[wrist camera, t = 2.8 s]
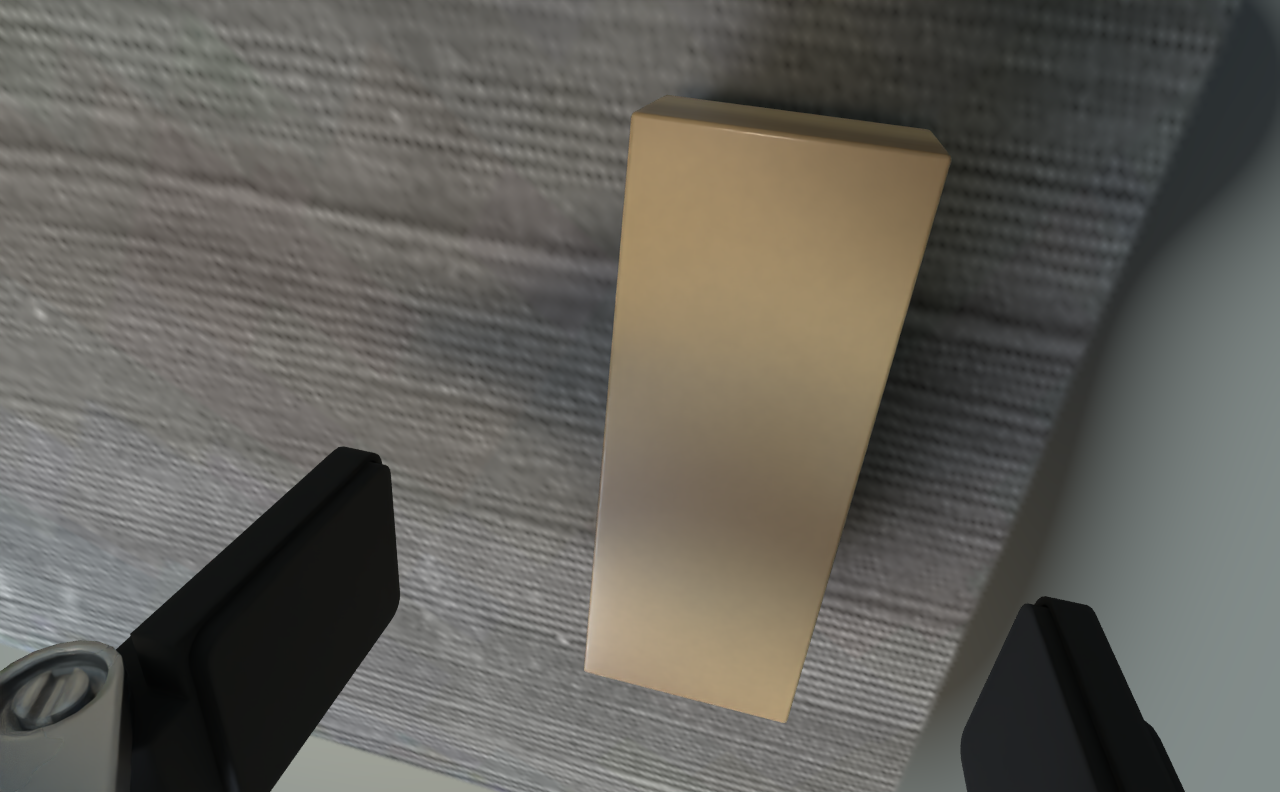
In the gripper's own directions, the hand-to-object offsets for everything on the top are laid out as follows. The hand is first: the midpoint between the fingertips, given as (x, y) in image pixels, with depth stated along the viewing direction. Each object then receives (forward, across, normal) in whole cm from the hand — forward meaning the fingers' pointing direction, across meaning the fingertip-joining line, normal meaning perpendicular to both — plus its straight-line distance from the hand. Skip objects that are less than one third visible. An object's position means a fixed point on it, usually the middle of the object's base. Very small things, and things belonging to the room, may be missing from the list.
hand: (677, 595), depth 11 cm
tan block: (+7, 0, 0) cm, 7 cm away
